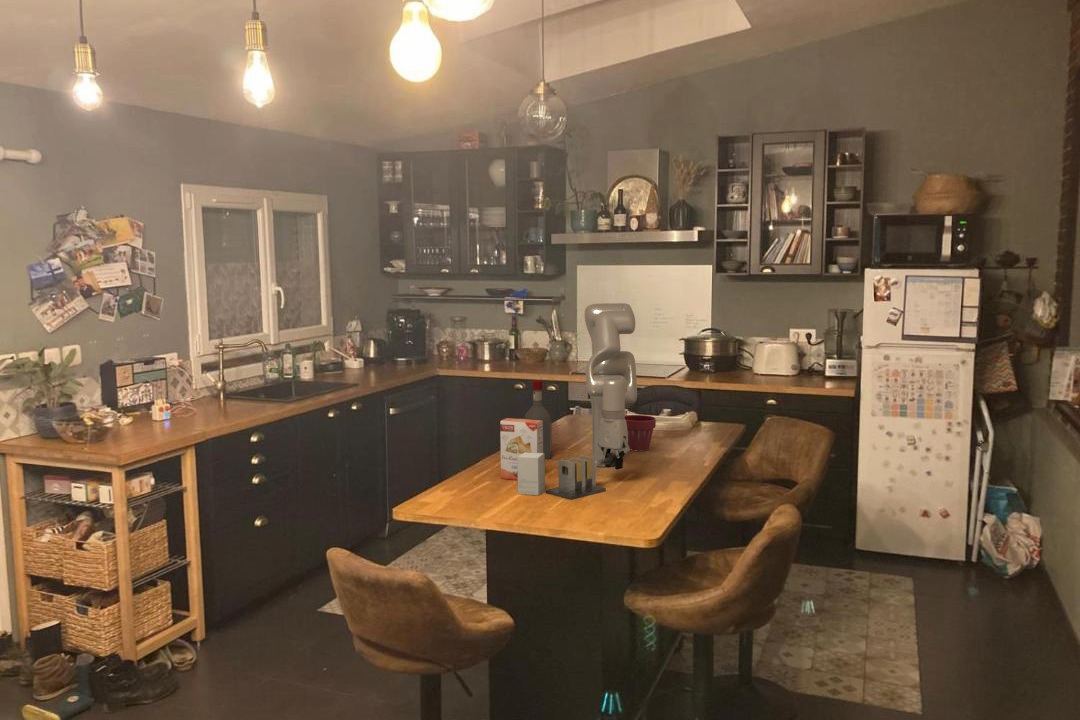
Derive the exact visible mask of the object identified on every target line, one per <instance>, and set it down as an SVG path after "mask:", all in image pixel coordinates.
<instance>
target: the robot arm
mask: <svg viewBox="0 0 1080 720" xmlns="http://www.w3.org/2000/svg"><path fill="white" fill-rule="evenodd" d="M584 322H585V326H586V329H587V332H588V334H589V338H590V340H591V354H592V355H591V357H590V358H589V359H588V361H587V362H586V366H585V367H586V368H585V386H586V393H587V394H588V395H589V396H590V397H589V398H590V404H591V417H592V418H591V420H592V421H591V423H592V424H591V425H592V427H591V431H592V432H591V437H592V439H591V440H592V441H591V442H592V443H591V444H592V448H591V449H592V450H591V451H592V452H591V453H592V454H591V457H595V458H596V460H600V459H605V458H607V453H611V452H613V453H616V457H617V458H615V466H614V469H615V470H621V469H623V468H624V466H623V465H624V464H623V463H624V457H625V455H626V454H627V453H628V452H631V450H630V448H629V446H628V431H627V424H626V420H625V416H626V410H625V409H626V408H625V407H626V406H631V405H634V404H635V403H636V401H637V399H638V398H637V397H638V386H637V384H638V383H637V367H636V359H635V355H634V354H633V353H632V352H631V351H627V350H621V340H620V339H621V336H620V335H631V334H633V333H634V332H635V329H636V316H635V313H634V310H633V308H632V306H631V305H630V304H628V303H618V302H617V303H614V302H613V303H605V302H604V303H592V304H590V305H589V304H588V305H587V306H586V307H585V310H584ZM599 467H600V468H601V467H603V468H609V467H613V466H610V465H607V464H605V465H601V466H598V468H599Z"/></svg>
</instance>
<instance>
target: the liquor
mask: <svg viewBox="0 0 1080 720" xmlns="http://www.w3.org/2000/svg"><path fill="white" fill-rule="evenodd" d="M531 405H532V406H530V408H529V410H528V411H527V412H525V415H524V417H523V419H527V420H542V421H543V453H544V457H545V459H547V460H550V459H551V457H552V455H553V449H552V448H553V440H552V439H553V438H552V435H553V434H552V421H553V420H552V415H551V413H550V412H549V411H548V410H547V408H546V407H545V406H544V404H543V380H539V379H537V380H532V404H531Z"/></svg>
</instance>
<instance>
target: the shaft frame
mask: <svg viewBox="0 0 1080 720" xmlns="http://www.w3.org/2000/svg"><path fill="white" fill-rule="evenodd" d="M578 457H580V458H584V459H589V460H592V478H590V479H585V460H584V459H579V458H578ZM578 457H574V456H572V457H568V459H562V458H561V459H558V462H557V464H558V467H557V468H558V487H554V488H553V487H552V488H549V489H545V491H544V492H545V494H547V495H550V496H555V497H558V498H563V499H566V500H571V501H572V500H578V499H580V498H584V497H588V496H591V495H596V494H601V493H603V492H606V491H607V488H606V487H605V486H599V485H597V484H596V483H597V481H596V479H597V478H596V471H597V468H596V458H595V457H592V456H588V455H586V454H585V455H584V454H580V455H578ZM567 460H573V461H578V462H582V481H578V482H576V481H575V462H572V461H567ZM565 467H568V474H566V473H565Z"/></svg>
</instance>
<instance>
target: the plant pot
mask: <svg viewBox="0 0 1080 720" xmlns="http://www.w3.org/2000/svg"><path fill="white" fill-rule="evenodd" d="M625 420H626V424H627V431H628V446H629V448H630V449H632V450H645V451H648V450H650V445H651V443H652V437H653V432H654V429H656V426H657V425H656V421H657V420H656V417H654V416H652V415H644V414H629V415H627V414H626V415H625ZM647 449H648V450H647ZM632 450H631V451H632Z"/></svg>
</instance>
